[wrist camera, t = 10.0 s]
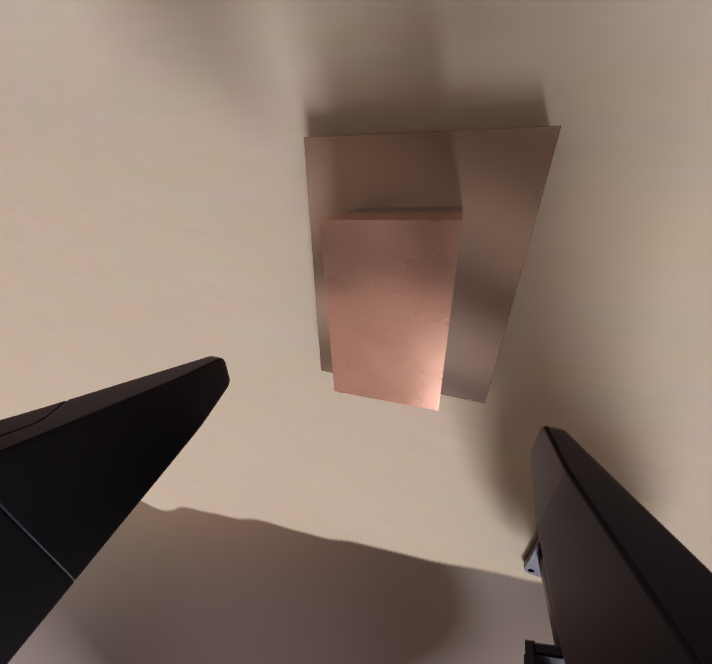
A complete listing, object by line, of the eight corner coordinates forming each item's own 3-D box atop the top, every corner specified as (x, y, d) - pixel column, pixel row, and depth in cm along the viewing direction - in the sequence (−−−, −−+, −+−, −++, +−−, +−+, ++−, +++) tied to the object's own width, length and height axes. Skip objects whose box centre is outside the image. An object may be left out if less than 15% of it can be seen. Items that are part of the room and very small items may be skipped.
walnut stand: (483, 388, 19) (484, 403, 18) (329, 359, 22) (321, 370, 21) (551, 131, 12) (561, 125, 11) (317, 140, 15) (304, 137, 14)
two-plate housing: (462, 206, 13) (462, 220, 9) (444, 353, 17) (438, 410, 13) (359, 207, 15) (319, 220, 11) (363, 342, 18) (334, 390, 14)
